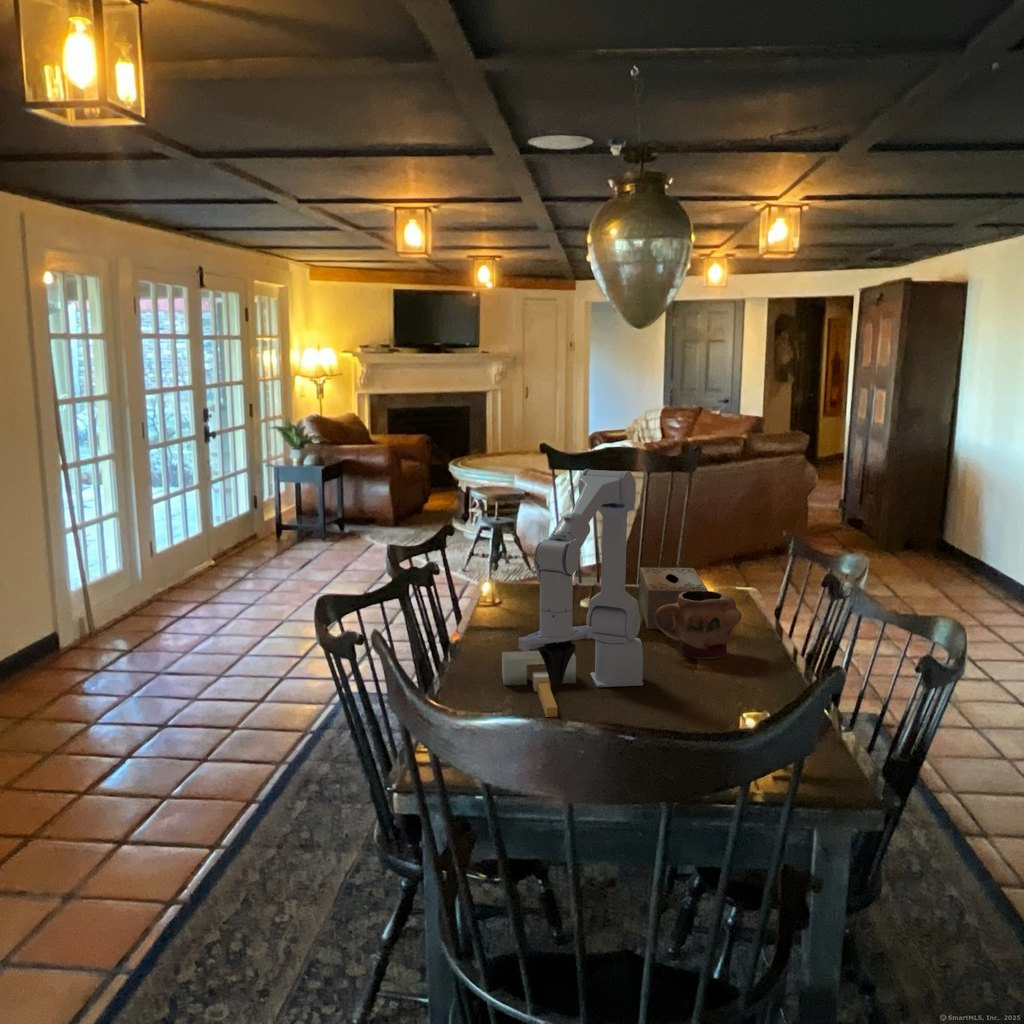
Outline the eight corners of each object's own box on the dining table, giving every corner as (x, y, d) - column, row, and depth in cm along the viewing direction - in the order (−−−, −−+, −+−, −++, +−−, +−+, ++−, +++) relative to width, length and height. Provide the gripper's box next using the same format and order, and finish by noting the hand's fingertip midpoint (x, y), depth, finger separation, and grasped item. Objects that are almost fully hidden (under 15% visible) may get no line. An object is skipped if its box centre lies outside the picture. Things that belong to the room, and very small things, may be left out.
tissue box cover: (707, 630, 225) (708, 590, 223) (647, 630, 226) (648, 590, 224) (692, 603, 250) (693, 567, 249) (639, 603, 251) (639, 567, 249)
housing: (571, 674, 192) (572, 649, 191) (575, 682, 187) (575, 657, 186) (502, 677, 191) (502, 652, 190) (504, 685, 186) (504, 659, 185)
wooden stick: (560, 717, 169) (560, 701, 169) (543, 718, 169) (543, 702, 168) (548, 685, 186) (548, 671, 185) (532, 686, 185) (532, 672, 185)
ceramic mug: (667, 667, 197) (668, 604, 195) (644, 650, 208) (645, 590, 206) (751, 659, 202) (753, 597, 200) (724, 643, 214) (725, 584, 211)
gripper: (575, 597, 168) (575, 669, 170) (508, 609, 160) (509, 684, 162) (600, 606, 162) (599, 680, 164) (531, 618, 154) (531, 696, 156)
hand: (555, 683), depth 163 cm, fingers closed
